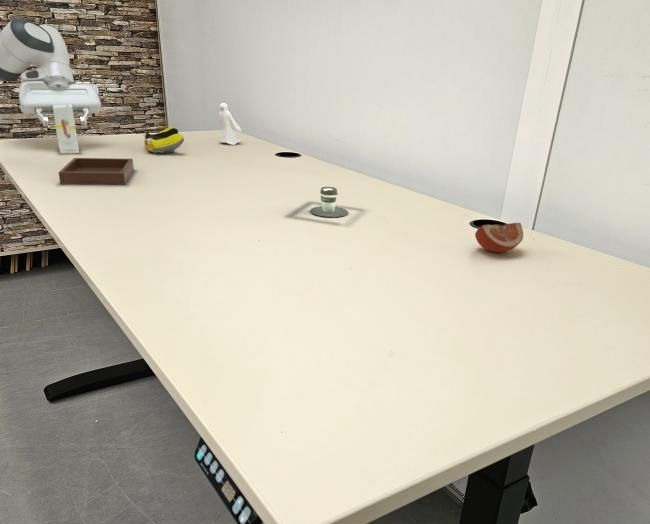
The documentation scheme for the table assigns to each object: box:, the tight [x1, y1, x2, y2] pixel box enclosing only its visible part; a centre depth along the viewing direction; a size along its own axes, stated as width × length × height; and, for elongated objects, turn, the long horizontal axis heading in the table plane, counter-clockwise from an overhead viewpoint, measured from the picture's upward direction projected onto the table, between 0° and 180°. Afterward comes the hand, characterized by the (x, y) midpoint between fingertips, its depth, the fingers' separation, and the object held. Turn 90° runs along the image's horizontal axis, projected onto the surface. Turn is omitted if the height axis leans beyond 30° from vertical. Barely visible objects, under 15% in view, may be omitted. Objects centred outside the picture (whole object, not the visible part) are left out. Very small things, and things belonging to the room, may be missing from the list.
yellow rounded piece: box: [142, 126, 185, 154], centre depth 167 cm, size 15×6×10 cm
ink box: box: [53, 104, 80, 155], centre depth 159 cm, size 9×5×12 cm, turn 24°
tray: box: [58, 157, 135, 186], centre depth 136 cm, size 14×16×3 cm
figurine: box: [218, 102, 243, 146], centre depth 181 cm, size 8×8×12 cm
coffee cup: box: [309, 186, 349, 218], centre depth 118 cm, size 12×12×5 cm
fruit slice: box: [474, 222, 524, 253], centre depth 102 cm, size 8×7×5 cm
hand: (65, 124), depth 158 cm, fingers open, 8 cm apart
